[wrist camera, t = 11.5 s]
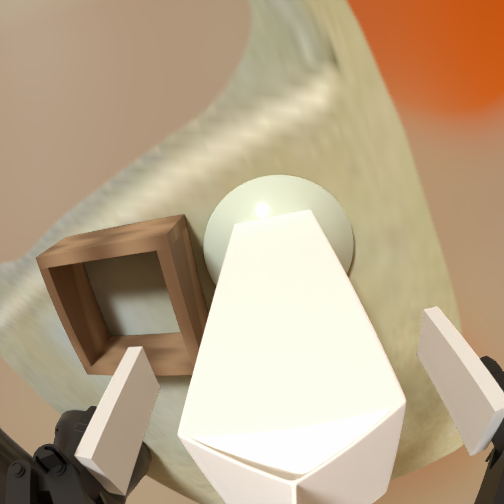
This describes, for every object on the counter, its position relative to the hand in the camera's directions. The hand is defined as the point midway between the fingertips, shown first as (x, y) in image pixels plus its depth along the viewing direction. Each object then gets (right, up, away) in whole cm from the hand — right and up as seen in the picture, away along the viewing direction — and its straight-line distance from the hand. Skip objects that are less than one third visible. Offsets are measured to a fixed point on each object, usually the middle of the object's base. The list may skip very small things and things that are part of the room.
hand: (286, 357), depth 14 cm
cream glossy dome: (+1, +5, +12) cm, 13 cm away
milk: (+1, +5, +12) cm, 13 cm away
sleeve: (-12, +1, +14) cm, 18 cm away
